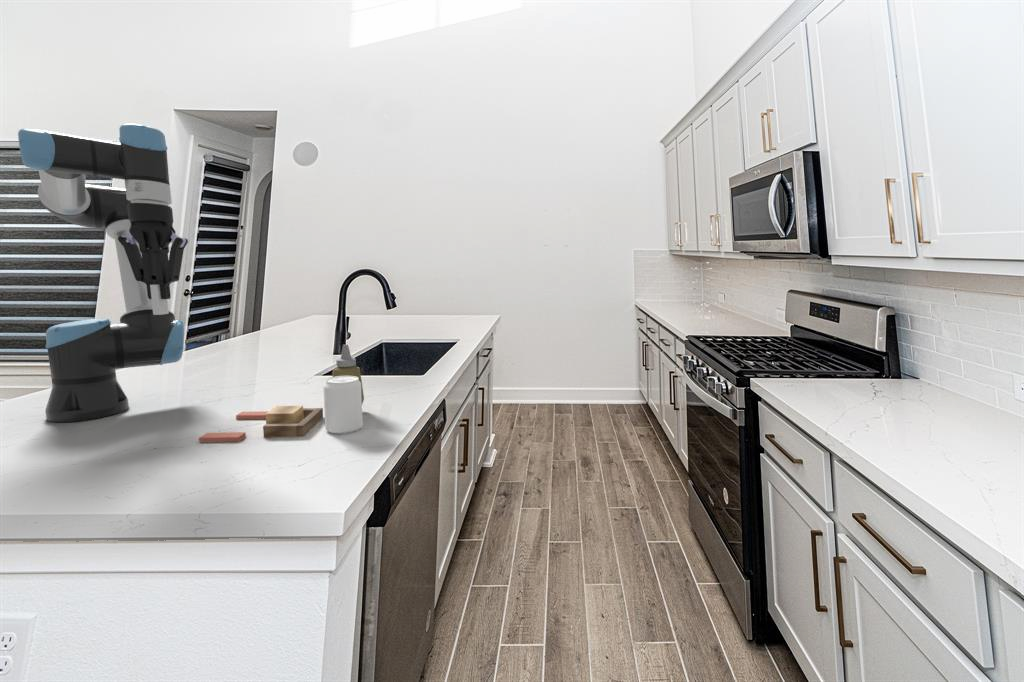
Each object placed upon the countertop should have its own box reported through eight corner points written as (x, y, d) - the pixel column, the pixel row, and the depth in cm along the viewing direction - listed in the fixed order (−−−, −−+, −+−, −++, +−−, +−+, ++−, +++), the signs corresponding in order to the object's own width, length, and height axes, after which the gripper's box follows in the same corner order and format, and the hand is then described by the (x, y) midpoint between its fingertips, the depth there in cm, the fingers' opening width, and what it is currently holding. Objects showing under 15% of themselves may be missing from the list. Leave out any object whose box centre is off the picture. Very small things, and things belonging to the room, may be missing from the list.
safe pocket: (263, 437, 98) (262, 426, 98) (287, 418, 111) (287, 408, 111) (303, 436, 99) (303, 425, 98) (323, 417, 112) (322, 408, 111)
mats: (199, 442, 95) (198, 437, 94) (242, 415, 112) (242, 411, 112) (238, 441, 95) (238, 437, 95) (275, 415, 113) (275, 411, 113)
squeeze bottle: (324, 415, 113) (320, 346, 111) (347, 407, 121) (344, 341, 118) (349, 420, 110) (346, 348, 108) (371, 411, 118) (369, 343, 115)
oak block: (266, 432, 101) (265, 413, 101) (278, 424, 107) (277, 405, 107) (294, 432, 102) (292, 413, 101) (304, 423, 108) (303, 405, 107)
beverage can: (350, 436, 99) (348, 384, 97) (318, 433, 101) (315, 382, 99) (369, 424, 107) (367, 376, 105) (338, 422, 109) (336, 374, 107)
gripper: (102, 200, 91) (116, 315, 94) (170, 202, 92) (181, 316, 95) (130, 205, 98) (142, 312, 102) (193, 207, 99) (202, 313, 103)
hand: (161, 314), depth 99 cm, fingers closed
